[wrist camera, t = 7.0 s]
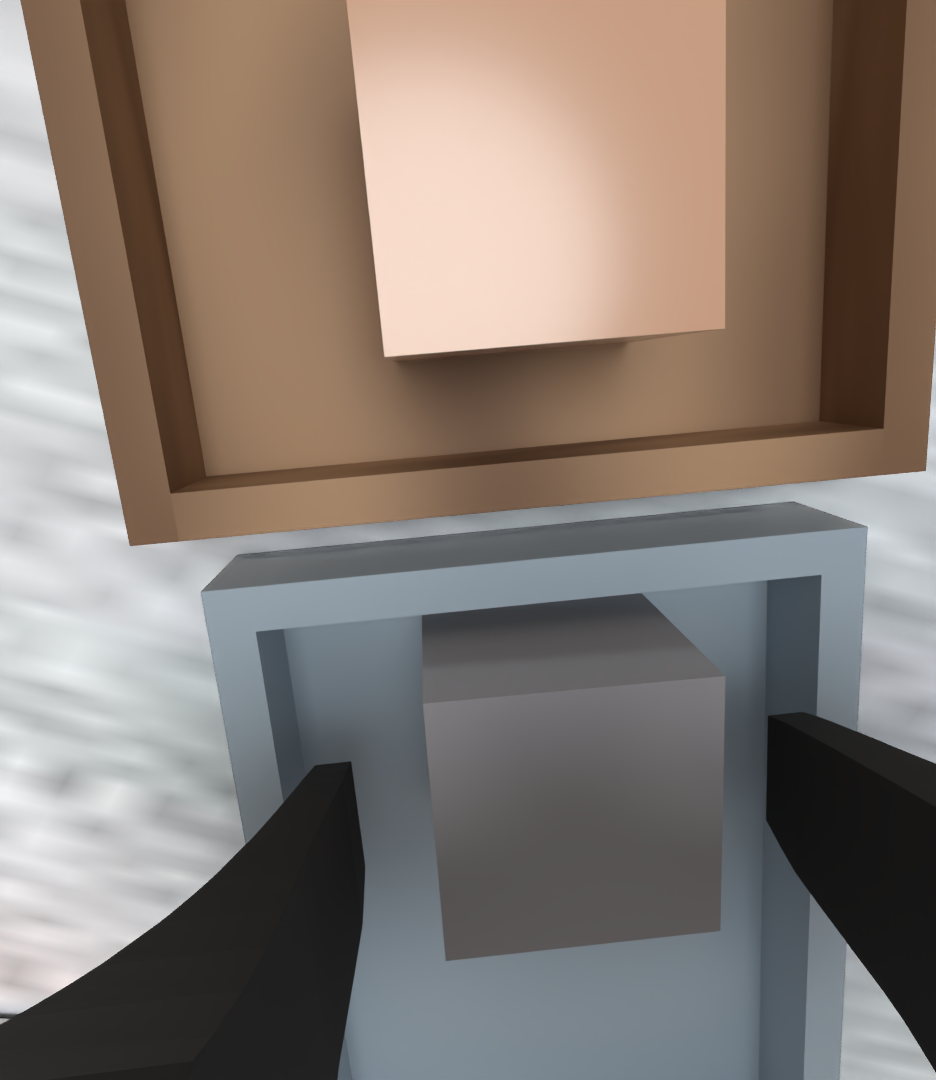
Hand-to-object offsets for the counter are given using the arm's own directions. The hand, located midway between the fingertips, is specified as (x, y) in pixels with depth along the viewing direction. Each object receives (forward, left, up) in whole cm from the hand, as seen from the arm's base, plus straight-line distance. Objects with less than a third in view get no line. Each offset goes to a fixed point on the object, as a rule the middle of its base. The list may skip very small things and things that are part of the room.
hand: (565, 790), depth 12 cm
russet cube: (0, -10, -3) cm, 10 cm away
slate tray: (0, +4, -4) cm, 5 cm away
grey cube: (0, 0, -3) cm, 3 cm away
